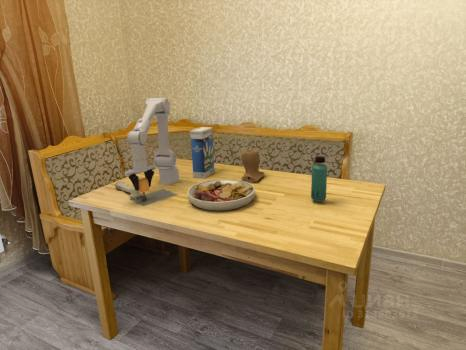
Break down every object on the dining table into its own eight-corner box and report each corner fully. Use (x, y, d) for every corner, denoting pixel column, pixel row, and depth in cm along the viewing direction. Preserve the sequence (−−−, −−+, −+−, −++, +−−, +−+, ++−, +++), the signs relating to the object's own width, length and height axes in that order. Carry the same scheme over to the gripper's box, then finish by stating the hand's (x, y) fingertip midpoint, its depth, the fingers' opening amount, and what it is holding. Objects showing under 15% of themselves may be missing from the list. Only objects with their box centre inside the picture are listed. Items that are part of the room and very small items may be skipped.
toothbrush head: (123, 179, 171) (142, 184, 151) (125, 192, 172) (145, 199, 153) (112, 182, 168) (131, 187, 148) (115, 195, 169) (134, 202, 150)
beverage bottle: (326, 199, 146) (329, 155, 140) (325, 205, 140) (327, 159, 134) (311, 198, 148) (313, 154, 142) (309, 204, 142) (311, 158, 136)
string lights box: (205, 178, 180) (202, 131, 172) (192, 177, 182) (189, 130, 175) (215, 171, 191) (212, 127, 184) (203, 170, 194) (200, 126, 186)
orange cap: (147, 187, 152) (146, 177, 150) (150, 190, 147) (148, 180, 146) (136, 189, 149) (134, 179, 148) (138, 193, 145) (137, 182, 144)
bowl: (209, 185, 170) (208, 170, 167) (264, 193, 157) (264, 177, 154) (174, 207, 144) (173, 190, 142) (237, 218, 131) (237, 199, 129)
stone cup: (246, 173, 187) (245, 147, 182) (266, 175, 182) (266, 148, 178) (235, 181, 173) (234, 153, 169) (257, 184, 169) (257, 155, 164)
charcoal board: (163, 190, 164) (162, 182, 162) (178, 196, 155) (177, 187, 154) (129, 201, 152) (128, 192, 150) (143, 208, 143) (142, 198, 142)
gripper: (148, 154, 152) (151, 182, 156) (119, 160, 142) (123, 190, 146) (157, 156, 147) (160, 185, 151) (127, 163, 137) (131, 194, 141)
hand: (142, 188), depth 148 cm, fingers closed on orange cap, 5 cm apart
